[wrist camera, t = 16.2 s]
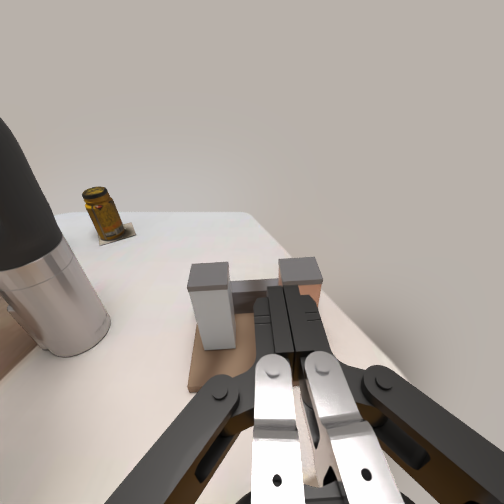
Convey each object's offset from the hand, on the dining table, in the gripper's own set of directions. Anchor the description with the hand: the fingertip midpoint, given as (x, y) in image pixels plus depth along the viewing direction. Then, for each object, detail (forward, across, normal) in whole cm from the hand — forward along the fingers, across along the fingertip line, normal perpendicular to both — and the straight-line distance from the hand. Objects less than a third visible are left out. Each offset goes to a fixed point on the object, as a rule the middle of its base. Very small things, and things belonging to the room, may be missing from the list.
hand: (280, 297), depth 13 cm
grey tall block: (+15, +6, +24) cm, 29 cm away
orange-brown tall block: (+15, -5, +24) cm, 29 cm away
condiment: (+49, +35, +26) cm, 66 cm away
